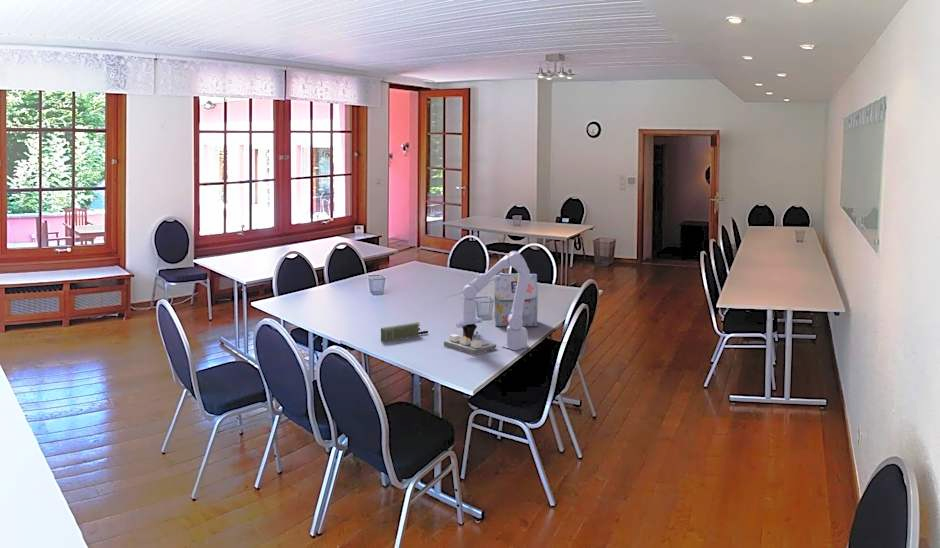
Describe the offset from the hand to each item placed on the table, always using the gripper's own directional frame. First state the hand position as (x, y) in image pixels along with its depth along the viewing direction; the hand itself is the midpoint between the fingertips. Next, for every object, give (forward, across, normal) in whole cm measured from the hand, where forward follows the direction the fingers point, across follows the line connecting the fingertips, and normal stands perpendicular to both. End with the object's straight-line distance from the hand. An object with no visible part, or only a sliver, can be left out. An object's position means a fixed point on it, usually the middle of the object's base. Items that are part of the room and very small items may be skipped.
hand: (469, 340), depth 345 cm
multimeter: (+4, -16, -13) cm, 21 cm away
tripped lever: (+1, +3, 0) cm, 3 cm away
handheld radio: (+4, +11, -33) cm, 35 cm away
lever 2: (+1, +3, +7) cm, 8 cm away
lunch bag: (+4, -46, -14) cm, 49 cm away
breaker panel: (+3, 0, 0) cm, 3 cm away
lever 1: (+1, +3, -7) cm, 8 cm away
